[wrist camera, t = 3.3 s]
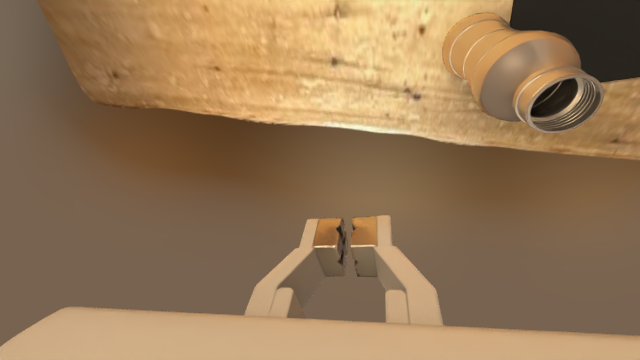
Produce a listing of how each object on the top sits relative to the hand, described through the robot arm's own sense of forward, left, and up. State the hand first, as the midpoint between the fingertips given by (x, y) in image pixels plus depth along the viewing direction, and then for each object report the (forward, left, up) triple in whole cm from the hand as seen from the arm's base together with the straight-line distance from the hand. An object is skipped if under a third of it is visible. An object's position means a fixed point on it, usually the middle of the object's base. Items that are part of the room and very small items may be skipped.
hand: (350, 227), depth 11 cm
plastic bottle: (-12, 0, -29) cm, 32 cm away
